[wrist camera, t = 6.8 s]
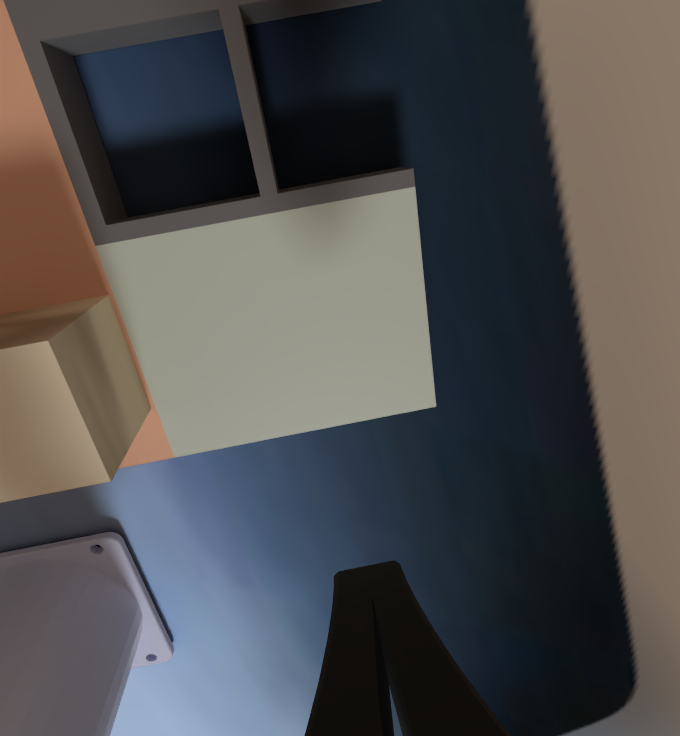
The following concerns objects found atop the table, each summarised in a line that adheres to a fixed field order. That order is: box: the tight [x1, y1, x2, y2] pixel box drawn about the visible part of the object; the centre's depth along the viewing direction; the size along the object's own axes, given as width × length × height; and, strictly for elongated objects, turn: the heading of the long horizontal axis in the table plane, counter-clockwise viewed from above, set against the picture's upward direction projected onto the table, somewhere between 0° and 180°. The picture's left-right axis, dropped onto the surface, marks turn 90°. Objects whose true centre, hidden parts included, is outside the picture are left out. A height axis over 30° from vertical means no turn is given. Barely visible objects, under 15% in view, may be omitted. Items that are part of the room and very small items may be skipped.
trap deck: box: [0, 0, 436, 468], centre depth 15 cm, size 14×14×2 cm
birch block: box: [0, 295, 151, 503], centre depth 13 cm, size 4×4×4 cm
